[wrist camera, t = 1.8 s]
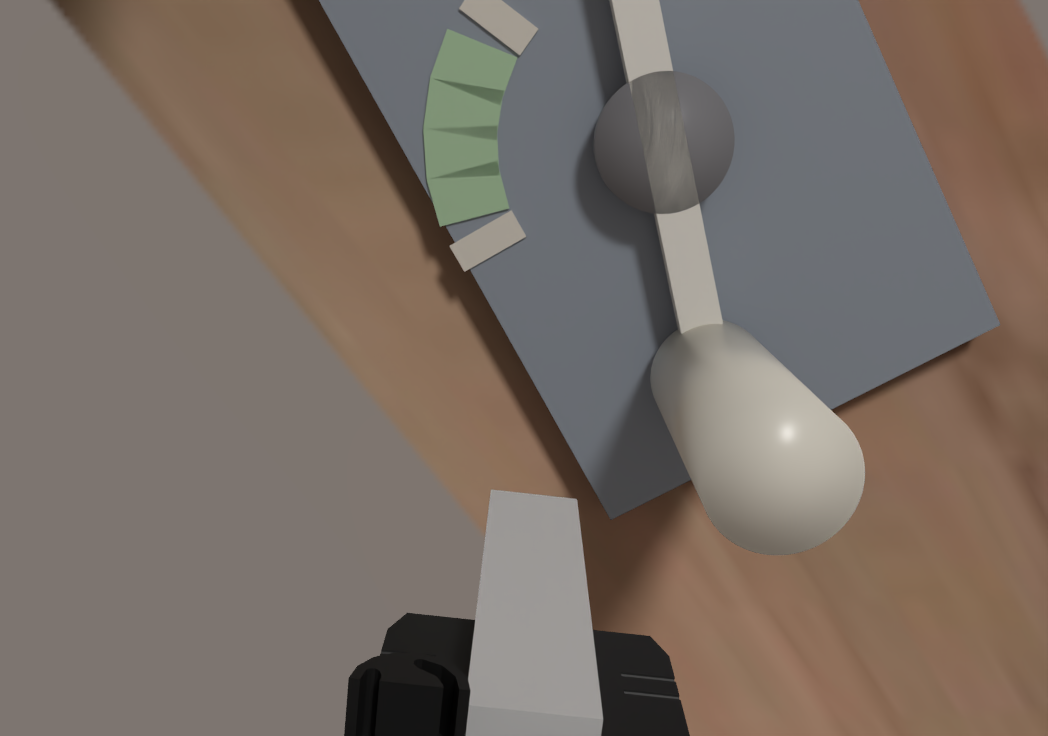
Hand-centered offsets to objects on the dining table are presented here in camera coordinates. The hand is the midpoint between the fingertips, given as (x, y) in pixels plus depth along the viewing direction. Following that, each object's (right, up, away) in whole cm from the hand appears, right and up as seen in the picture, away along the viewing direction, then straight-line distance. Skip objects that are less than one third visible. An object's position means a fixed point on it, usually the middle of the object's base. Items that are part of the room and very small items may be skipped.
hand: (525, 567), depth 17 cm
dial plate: (+4, +11, +16) cm, 20 cm away
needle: (+5, +10, +15) cm, 18 cm away
